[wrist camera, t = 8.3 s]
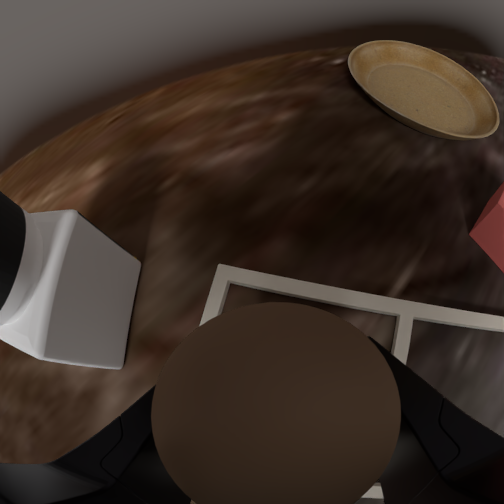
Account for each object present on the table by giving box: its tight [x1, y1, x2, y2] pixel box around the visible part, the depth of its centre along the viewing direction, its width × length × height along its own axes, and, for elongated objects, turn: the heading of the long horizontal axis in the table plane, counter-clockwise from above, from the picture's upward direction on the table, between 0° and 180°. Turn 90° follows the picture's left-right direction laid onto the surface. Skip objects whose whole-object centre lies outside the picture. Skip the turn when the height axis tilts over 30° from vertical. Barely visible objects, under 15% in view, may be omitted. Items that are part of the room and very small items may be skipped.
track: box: [199, 264, 504, 498], centre depth 11 cm, size 32×11×1 cm, turn 75°
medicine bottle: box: [0, 192, 141, 369], centre depth 12 cm, size 7×7×12 cm
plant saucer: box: [348, 40, 499, 140], centre depth 19 cm, size 15×15×3 cm
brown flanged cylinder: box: [151, 302, 401, 504], centre depth 9 cm, size 6×6×10 cm
